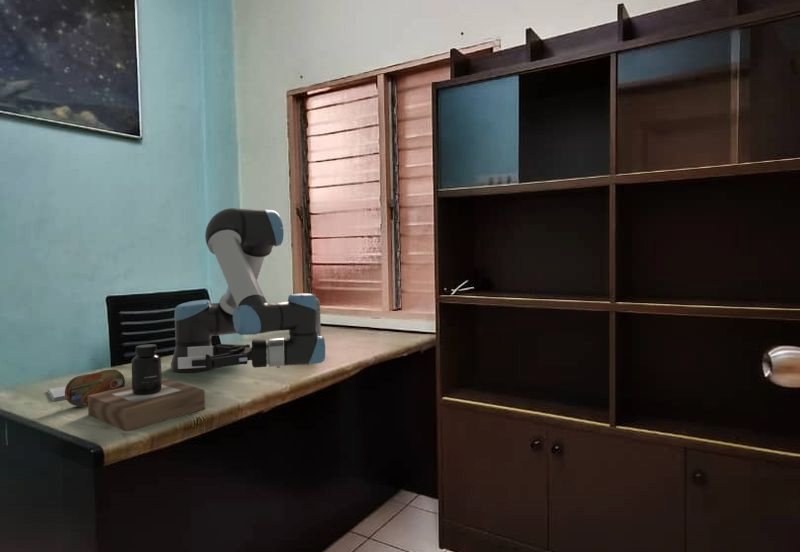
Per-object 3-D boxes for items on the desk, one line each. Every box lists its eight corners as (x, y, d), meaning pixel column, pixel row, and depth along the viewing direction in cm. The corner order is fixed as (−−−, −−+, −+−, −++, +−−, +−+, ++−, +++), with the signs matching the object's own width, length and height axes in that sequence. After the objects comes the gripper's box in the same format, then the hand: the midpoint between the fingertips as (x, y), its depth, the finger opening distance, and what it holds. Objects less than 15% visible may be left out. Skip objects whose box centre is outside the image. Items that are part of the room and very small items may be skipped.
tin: (69, 410, 131) (68, 379, 131) (63, 409, 133) (62, 377, 133) (126, 396, 144) (125, 367, 144) (120, 394, 146) (118, 365, 145)
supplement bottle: (149, 396, 126) (148, 348, 125) (126, 395, 127) (124, 348, 127) (167, 388, 133) (166, 343, 132) (145, 387, 134) (143, 342, 133)
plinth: (88, 414, 128) (87, 395, 128) (164, 395, 144) (164, 378, 144) (126, 431, 116) (125, 409, 116) (204, 408, 132) (204, 389, 132)
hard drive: (87, 392, 145) (80, 383, 154) (53, 397, 139) (47, 388, 149) (88, 397, 145) (80, 388, 154) (53, 403, 140) (47, 393, 149)
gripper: (266, 377, 124) (174, 384, 119) (268, 356, 149) (191, 361, 144) (265, 347, 124) (172, 352, 119) (268, 331, 148) (190, 335, 143)
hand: (183, 357), depth 131 cm, fingers open, 13 cm apart
